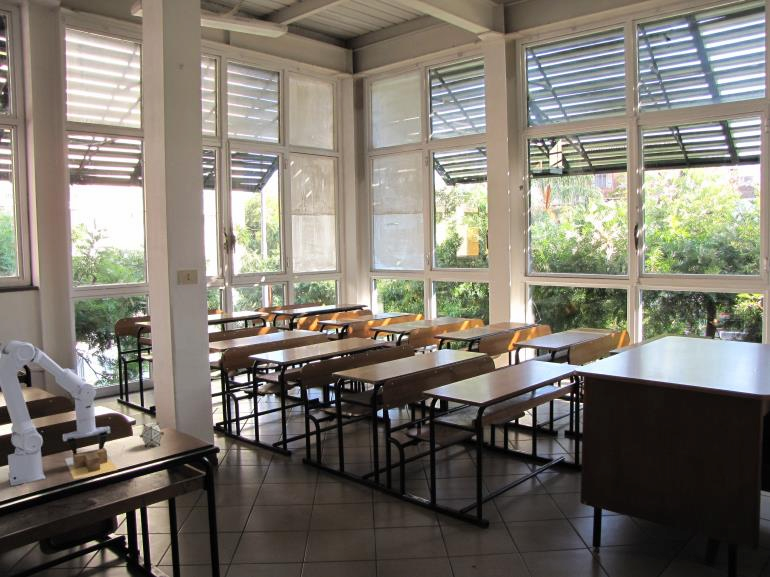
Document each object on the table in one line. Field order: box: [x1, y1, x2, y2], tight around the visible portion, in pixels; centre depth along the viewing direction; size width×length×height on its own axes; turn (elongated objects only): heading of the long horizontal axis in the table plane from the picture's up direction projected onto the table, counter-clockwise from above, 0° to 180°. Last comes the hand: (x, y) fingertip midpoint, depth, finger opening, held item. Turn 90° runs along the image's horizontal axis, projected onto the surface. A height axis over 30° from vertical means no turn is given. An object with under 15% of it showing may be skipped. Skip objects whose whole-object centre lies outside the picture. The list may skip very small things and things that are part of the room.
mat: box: [64, 454, 118, 480], centre depth 220 cm, size 13×24×1 cm, turn 32°
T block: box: [72, 447, 108, 472], centre depth 217 cm, size 10×10×4 cm
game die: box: [138, 422, 165, 448], centre depth 238 cm, size 9×8×10 cm
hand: (88, 457), depth 222 cm, fingers open, 7 cm apart
